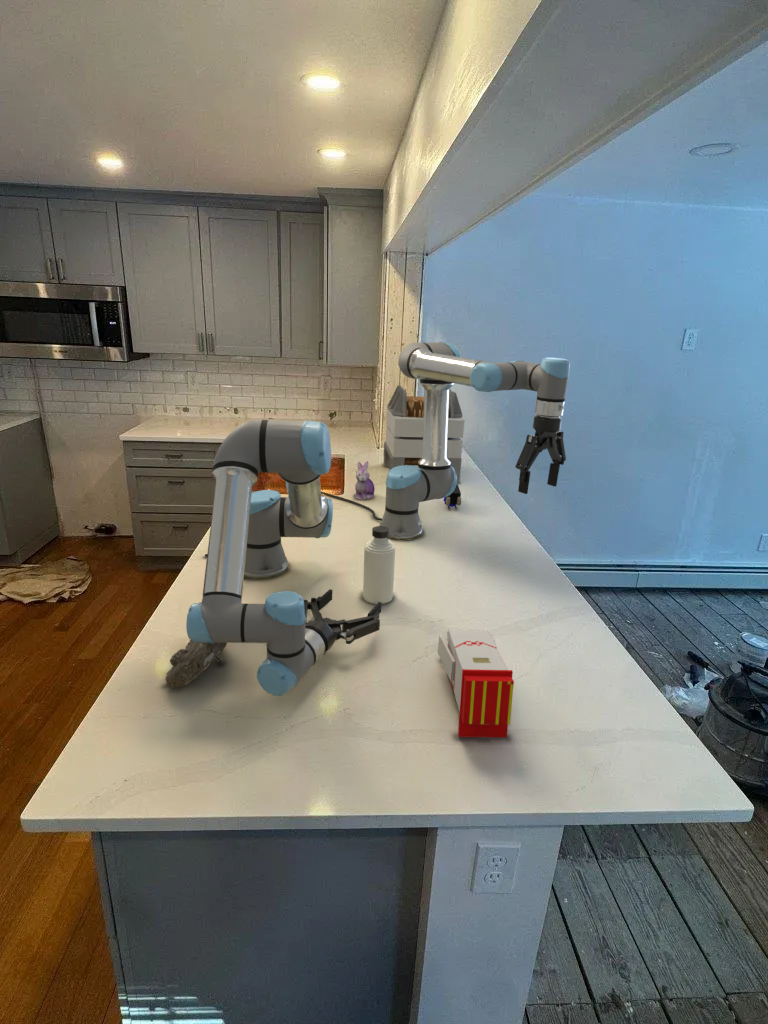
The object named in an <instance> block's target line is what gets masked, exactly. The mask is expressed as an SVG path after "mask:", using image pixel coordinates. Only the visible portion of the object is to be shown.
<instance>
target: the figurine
mask: <svg viewBox="0 0 768 1024" xmlns="http://www.w3.org/2000/svg"><path fill="white" fill-rule="evenodd" d="M368 468H369V460H367V461H365V463H364V464H363V465H362V462H360V461H358V462H357V472H356V474H355V478H356V480H357V481H356V483H355V488H354V489H355V493H354V497H355V499H356V500H361V501H362V500H363V501H364V500H370V499H372V498H374V496H375V491H376V488H375V484H374V482H373V481H372V479H370V473H369V471H368Z"/></svg>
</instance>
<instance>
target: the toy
mask: <svg viewBox="0 0 768 1024" xmlns="http://www.w3.org/2000/svg"><path fill="white" fill-rule="evenodd" d="M446 640H447V643H446V641H445V639H444V636H443V635H442V634H439V637H438V646H437V656H438V657H439V659H440V661H441V663H442V666H443V668H444V670H445V672H446V674H447V677H448V679H449V681H450V684H451V687H452V690H453V693H454V697H455V701H456V705H457V708H458V711H459V714H458V715H459V716H458V730H457V731H458V732H457V737H458V738H508V731H509V726H510V725H511V717H512V707H513V697H514V696H513V695H514V684H515V680H514V679H513V673H514V671H513V670H512V669H508V667H507V665H506V662H505V661H504V659H503V658H502V655H501V653H500V651H499V649H498V647H497V643H496V639H495V637H494V635H493V634H491V632H490V631H489V629H467V628H466V629H465V628H463V629H461V628H460V629H459V628H448V630H447V639H446Z"/></svg>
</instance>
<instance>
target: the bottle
mask: <svg viewBox="0 0 768 1024" xmlns="http://www.w3.org/2000/svg"><path fill="white" fill-rule="evenodd" d="M395 560H396V545H395V544H394V543H393V542H392V541H391V540H390V539H389V538H383V539H380V538H375V537H373V538H372V539H370V540H368V541H367V542H366V543H365V545H364V553H363V578H362V579H363V581H362V584H363V585H362V598H363V600H364V601H365V602H368V603H370V604H375V605H376V604H377V603H378V602H382V605H383V604H386V603H390V602H391V601H392V600H393V599H394V598H393V597H394V580H395Z"/></svg>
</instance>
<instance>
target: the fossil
mask: <svg viewBox="0 0 768 1024" xmlns="http://www.w3.org/2000/svg"><path fill="white" fill-rule="evenodd" d="M227 644H228V643H214V644H212V643H206V642H193V641H192V640H191V639H189V641H188V642H187V645H186V646H185V648H180V649H178V650H177V652H175V653H174V654H173V655H171V657H170V659H169V663H170V665H171V666H172V667H171V668H170V670H168V671H167V672H166V676H165V681H166V685H167V686H171V687H172V688H179V687H183V686H187V685H189V684H190V683H191V682H192V681H193V680H194V679H195V678H197V677H198V676H199V675H200V674H201V673H202V672H204V670H206V669H207V668H208V667H209V665H210V664H211V662H212V661H213V660H215V659H216V660H217V661H218V662H219V664H222V663H223V660H222V659H221V658H220V657H219V656H218V654H219V653H220V652H223V650H224V649H225V648H226V647H227Z"/></svg>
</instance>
